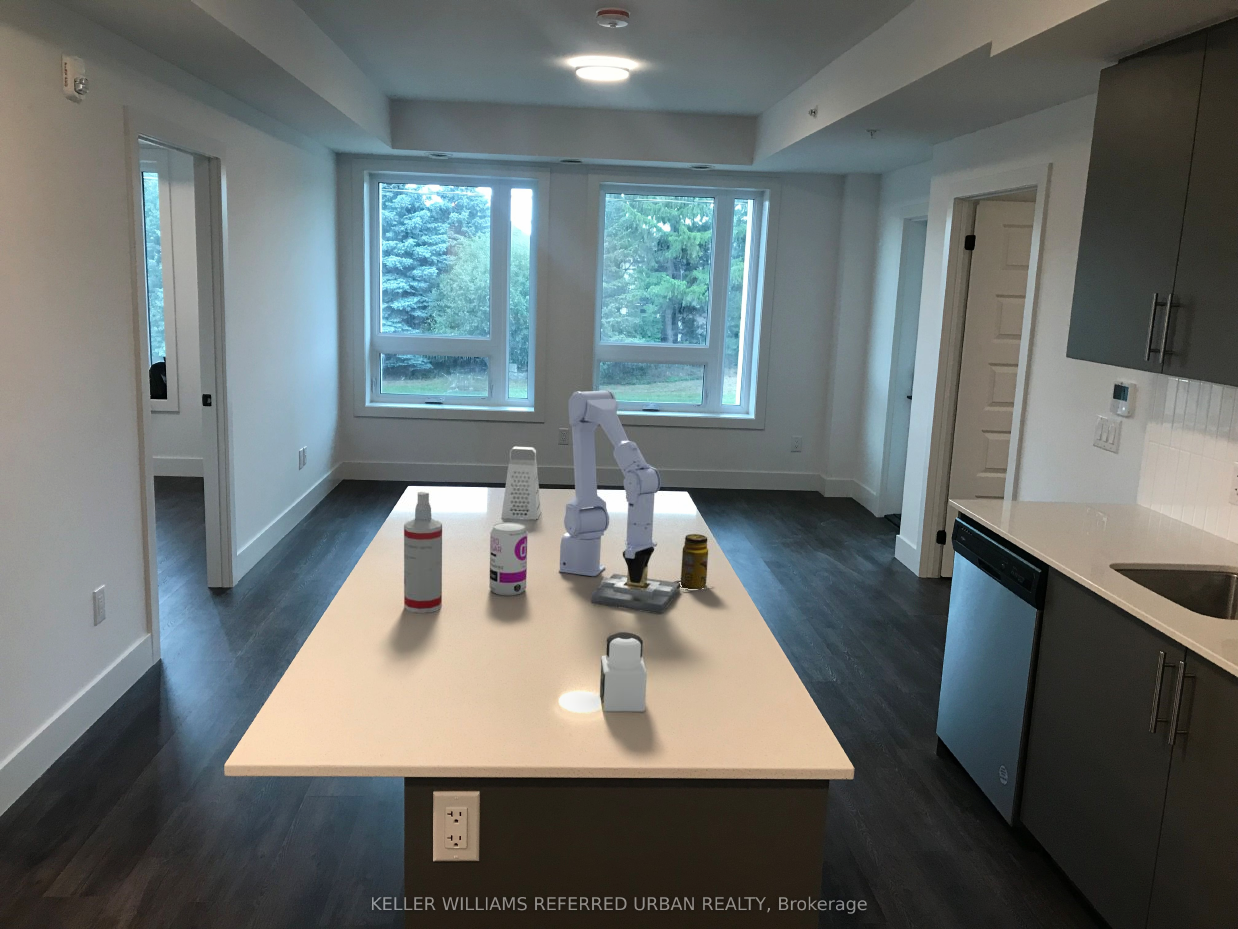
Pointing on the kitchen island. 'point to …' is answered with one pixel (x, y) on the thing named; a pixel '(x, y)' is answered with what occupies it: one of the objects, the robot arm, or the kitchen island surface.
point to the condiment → (694, 563)
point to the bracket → (649, 591)
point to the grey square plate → (635, 597)
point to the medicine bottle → (623, 674)
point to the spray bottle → (423, 560)
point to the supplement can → (508, 558)
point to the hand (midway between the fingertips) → (637, 580)
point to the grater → (522, 488)
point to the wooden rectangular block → (643, 580)
